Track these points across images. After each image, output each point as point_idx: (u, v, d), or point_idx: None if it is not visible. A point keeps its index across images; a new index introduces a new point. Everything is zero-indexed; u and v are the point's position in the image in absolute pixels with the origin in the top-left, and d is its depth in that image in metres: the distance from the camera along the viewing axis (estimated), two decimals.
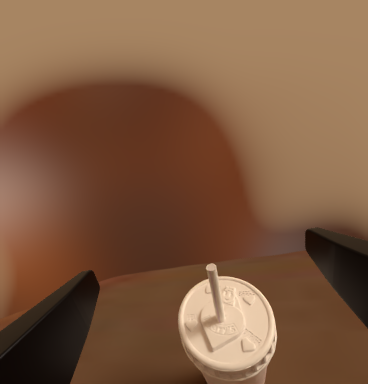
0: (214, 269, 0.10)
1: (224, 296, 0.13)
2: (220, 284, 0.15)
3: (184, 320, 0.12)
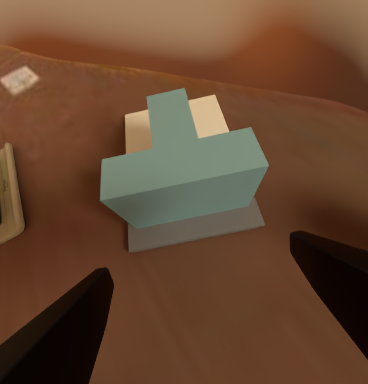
0: None
1: None
2: None
3: None
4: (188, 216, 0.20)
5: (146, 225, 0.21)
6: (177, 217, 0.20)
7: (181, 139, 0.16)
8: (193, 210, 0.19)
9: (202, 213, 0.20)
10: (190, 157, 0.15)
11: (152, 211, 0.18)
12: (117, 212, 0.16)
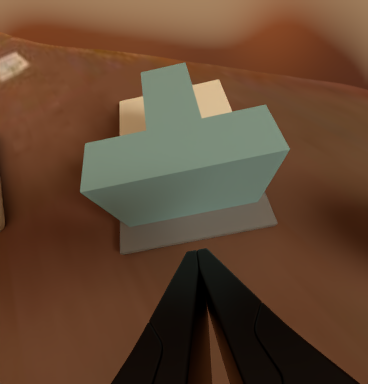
0: None
1: None
2: None
3: None
4: (188, 213, 0.18)
5: (140, 223, 0.18)
6: (176, 214, 0.18)
7: (181, 120, 0.13)
8: (194, 206, 0.16)
9: (205, 209, 0.18)
10: (191, 139, 0.12)
11: (146, 207, 0.15)
12: (104, 207, 0.14)
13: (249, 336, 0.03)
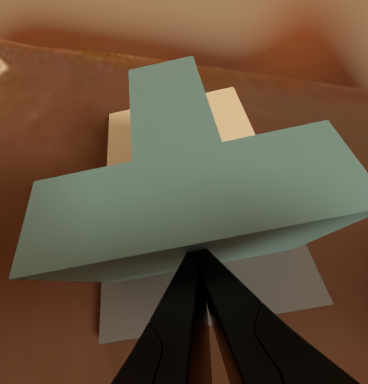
0: None
1: None
2: None
3: None
4: None
5: (129, 279, 0.13)
6: None
7: (189, 144, 0.08)
8: None
9: None
10: (207, 180, 0.07)
11: (135, 271, 0.10)
12: (66, 280, 0.09)
13: (249, 336, 0.03)
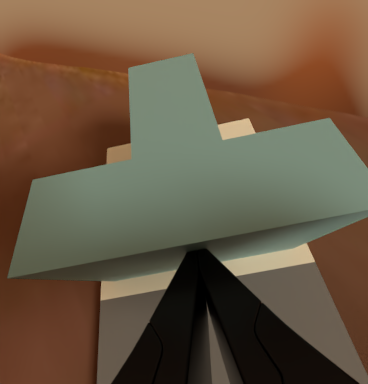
0: None
1: None
2: None
3: None
4: None
5: (128, 278, 0.13)
6: None
7: (189, 142, 0.08)
8: None
9: None
10: (207, 179, 0.07)
11: (135, 270, 0.10)
12: (65, 279, 0.09)
13: (249, 336, 0.03)
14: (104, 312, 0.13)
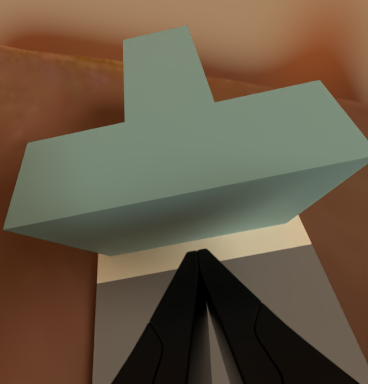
0: None
1: None
2: None
3: None
4: (191, 239, 0.13)
5: (125, 252, 0.13)
6: (174, 241, 0.13)
7: (181, 105, 0.08)
8: (200, 232, 0.12)
9: (214, 235, 0.13)
10: (199, 137, 0.07)
11: (130, 237, 0.10)
12: (61, 242, 0.09)
13: (249, 336, 0.03)
14: (100, 294, 0.13)
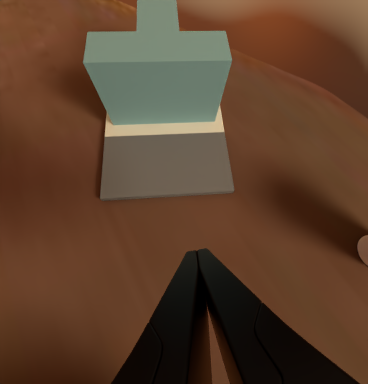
0: None
1: None
2: None
3: None
4: (161, 120, 0.23)
5: (122, 122, 0.23)
6: (152, 118, 0.23)
7: (164, 29, 0.18)
8: (166, 111, 0.22)
9: (174, 119, 0.23)
10: (169, 43, 0.17)
11: (130, 99, 0.20)
12: (97, 89, 0.18)
13: (249, 336, 0.03)
14: (107, 141, 0.23)
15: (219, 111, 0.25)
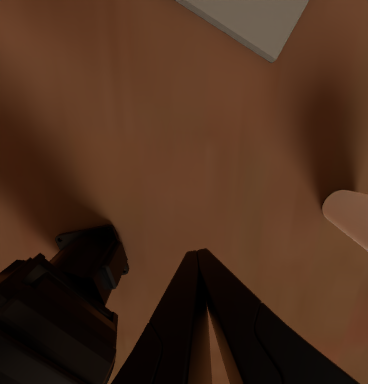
0: None
1: None
2: None
3: None
4: None
5: None
6: None
7: None
8: None
9: None
10: None
11: None
12: None
13: (249, 336, 0.03)
14: None
15: None
